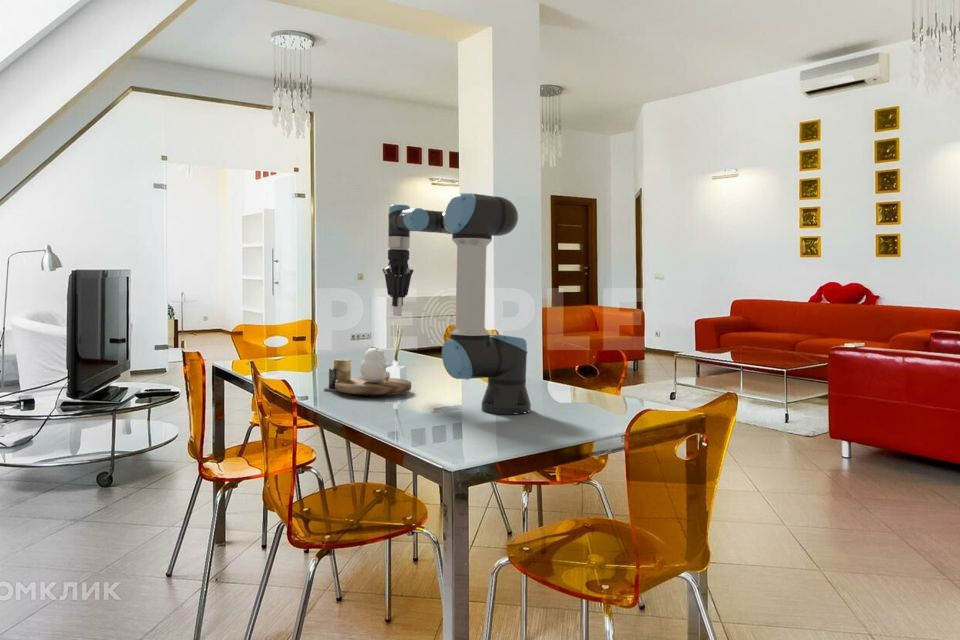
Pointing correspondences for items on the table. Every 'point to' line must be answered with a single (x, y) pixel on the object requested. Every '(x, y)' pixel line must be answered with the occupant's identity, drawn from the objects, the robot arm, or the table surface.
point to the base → (333, 379)
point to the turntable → (365, 382)
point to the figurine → (374, 366)
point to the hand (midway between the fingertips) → (397, 315)
